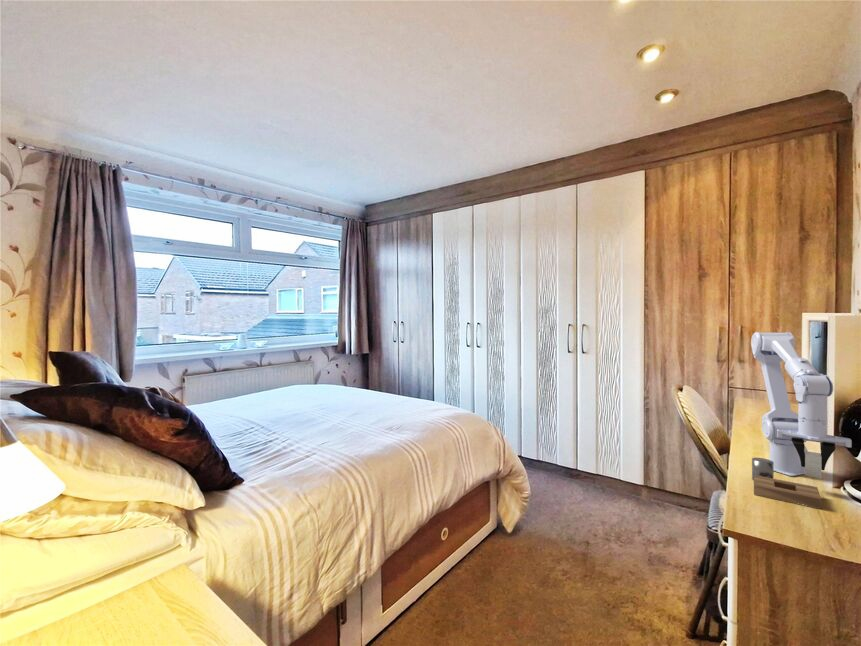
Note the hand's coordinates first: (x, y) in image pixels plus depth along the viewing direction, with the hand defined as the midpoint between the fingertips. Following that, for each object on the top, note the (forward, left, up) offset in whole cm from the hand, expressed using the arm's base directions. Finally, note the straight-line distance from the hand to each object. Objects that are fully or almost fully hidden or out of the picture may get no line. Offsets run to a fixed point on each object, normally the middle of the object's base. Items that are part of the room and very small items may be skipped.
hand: (812, 467), depth 107 cm
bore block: (+10, 0, -6) cm, 12 cm away
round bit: (+6, -9, -7) cm, 12 cm away
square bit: (0, 0, -2) cm, 2 cm away
